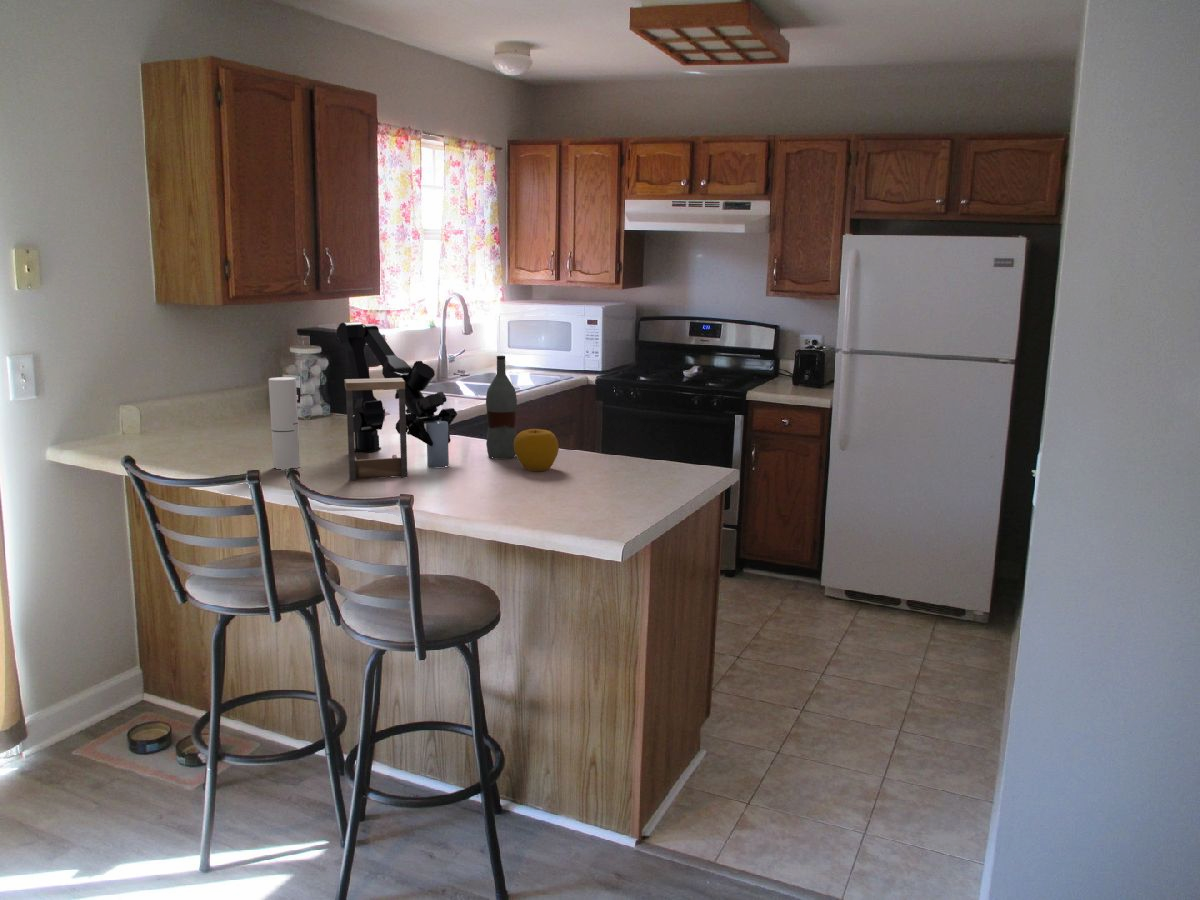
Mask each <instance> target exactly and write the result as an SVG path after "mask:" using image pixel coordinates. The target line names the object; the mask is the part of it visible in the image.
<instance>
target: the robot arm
mask: <svg viewBox="0 0 1200 900" xmlns="http://www.w3.org/2000/svg"><path fill="white" fill-rule="evenodd" d="M379 329H380V328H379V327H378V326H377V324H374V323H368V324H364V323H363V322H361V321H351V322H341V323H339V325H338V326H337V328H336V335H337V337H338V342H339V345H340V346H341V347H342V348H343V350H344V351H346V353H347V358H348V362H349V367H350V370H351V375H352V379H371V377H370V376H371V375H370V372H369V367H368V362H367V358H366V353H365V348H366V346H368V347H369V348H370V350H371V351H372V353H373V355H374V356H375V357H376V359H377V360H378V362H379V363H380V365H381V367H382V371H381V373H382V375H383V378H402V379H403V380H404V381H405V409H406V435H409V436H411V437H414V438H416V439H418V440H420V441H422V443H424V444H426V445H427V444H428V445H429V446H432V445H433V442H432V440H431V438H430V436H429V434H428V433H427V429H426V428H425V425H426V422H429V421H446V422H448V427H449V426H450V425H451V424H452V423H453V421H454V420H455V418H456V417H457V416H458V413H457V411H456V409H455V408H454V407H449V408H448V407H446V408H442V409H441V410H440V412H439V413H438V414H435V413H436V412H437V411H438V407H440V406H444V404H445V403H446V402H447V397H446V394H445V393H444V392H443V391H438V392H436V393H434V394H428V395H426V396H424V395H423V393H422V391H424V390H426V389H427V387H428V386H429V384H430V383H431V381H432V380H433V378H434V377H435V375H436V374H435V370H434V368H433V367H431V366H430V365H428V364H426V363H423V360H416V361H415V362H414V363H413V366H412V367H411V366H410V365H409V364H408V363H407V362H406V361H405V360H403V359H401V358H399V357H398V356H397V355H396V354H395V352H394V351H393V349H392V348H391V346H390V345H389V343H388V342H387V340H386V339H385V338H384V337H383V335H382V334H381V332H380V330H379ZM354 391H355V395H356V402H355V405H354V406H353V422H354V447H355V452H360V453H361V452H362V453H372V452H376V451H379V450H381V449H382V447H380V435H379V434H378V433H379V432H378V431H379V430H381V431H382V429H383V425H384V420H385V413H386V411H385V410H384V406H383V402H382V400H381V399H377V398H376V397H375V395H374V393H373V391H374V390H354ZM395 391H396V393H395V394H394V398H395V400H399V389H395ZM395 430H396V431H397V433H398V435H400V419H398V421H397V422H396V423H395ZM450 443H451V436H450V430H449V428H448V444H450Z"/></svg>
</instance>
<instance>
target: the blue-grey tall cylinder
mask: <svg viewBox="0 0 1200 900" xmlns="http://www.w3.org/2000/svg"><path fill="white" fill-rule="evenodd" d="M425 425H426V428H425V429H426V431H427V433H428V434H429V436H430V438H431V440H432V442H433V445H432V446H429V445H428V444H426V461H427V465H426V467H428V466H429V467H428V468H430V467H445V466H448V465H449V466H450V463H449V461H450V458H449V457H450V456H449V454H450V453H449V443H448V429H449V426H448V422H446V421H429V422H426V424H425ZM449 466H448V467H449ZM445 468H446V467H445Z"/></svg>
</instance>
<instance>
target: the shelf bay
mask: <svg viewBox="0 0 1200 900" xmlns="http://www.w3.org/2000/svg"><path fill="white" fill-rule="evenodd" d="M344 388H345V394H346V395H345V397H346V398H345V399H346V421H347V422H346V423H347V425H346V426H347V446H348V447H347V448H348V449H347V450H348V469H349V472H348V473H349V482H351V481H353V482H354V481H357V480H362V479H380V478H379V477H385V478H392V477H391V476H401V477H400V478H402V477H407V478H408V451H407V450H408V445H407V433H406V414H407V412H406V409H407V408H406V405H405V381H404V380H403V379H402V378H384V377H381V378H370V379H353V378H346V379H344ZM397 389H399V399H398V415H399V419H400V434H399V445H400V446H399V449H400V457H398V456H397V454H392V457H390V458H389V457H388V458H368V459H365V458H364V459H357V456H356V454H355V453H356V451H355V432H354V422H353V417H354V401H353V391H355V390H373V391H379V390H397ZM399 419H398V420H399Z"/></svg>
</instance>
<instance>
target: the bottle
mask: <svg viewBox="0 0 1200 900" xmlns="http://www.w3.org/2000/svg"><path fill="white" fill-rule="evenodd" d="M506 373H507V372H506V356H505V355H496V375H495V376H494V377H493V380H492V381H491V383H490V385H489V386H488V388H487V391H486V395H485V396H486V397H485V405H486V415H487V416H486V417H487V426H488V427H487V434H486V435H487V436H486V452H487V455H488V457H489V458H490V457H493V458H509V459H513V458H515V457H516V454H515V451H514V439H515V437H516V436H517V433H516V432H517V431H516V419H517V418H516V417H517V406H518V399H517V392H516V388H515V386H513V383H512V382H511V380H510V379H509V377H508V376H507V374H506ZM514 456H515V457H514ZM512 457H513V458H512ZM493 458H492V459H493Z"/></svg>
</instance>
